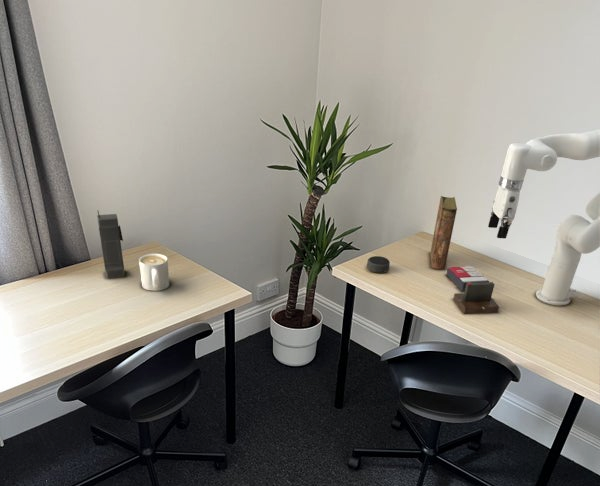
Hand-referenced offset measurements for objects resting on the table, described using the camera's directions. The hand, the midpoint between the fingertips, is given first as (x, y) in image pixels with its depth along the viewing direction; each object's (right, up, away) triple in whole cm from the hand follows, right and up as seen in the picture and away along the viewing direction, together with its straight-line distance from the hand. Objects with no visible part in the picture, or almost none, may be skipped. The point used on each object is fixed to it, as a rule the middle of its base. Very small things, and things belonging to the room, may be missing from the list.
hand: (496, 232), depth 213 cm
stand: (-4, -24, +11) cm, 27 cm away
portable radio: (-139, -11, +18) cm, 140 cm away
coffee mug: (-122, -17, +11) cm, 124 cm away
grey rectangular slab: (-4, -22, +10) cm, 24 cm away
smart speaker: (-37, -6, +33) cm, 50 cm away
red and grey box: (-3, -12, +27) cm, 30 cm away
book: (-11, -1, +42) cm, 44 cm away
